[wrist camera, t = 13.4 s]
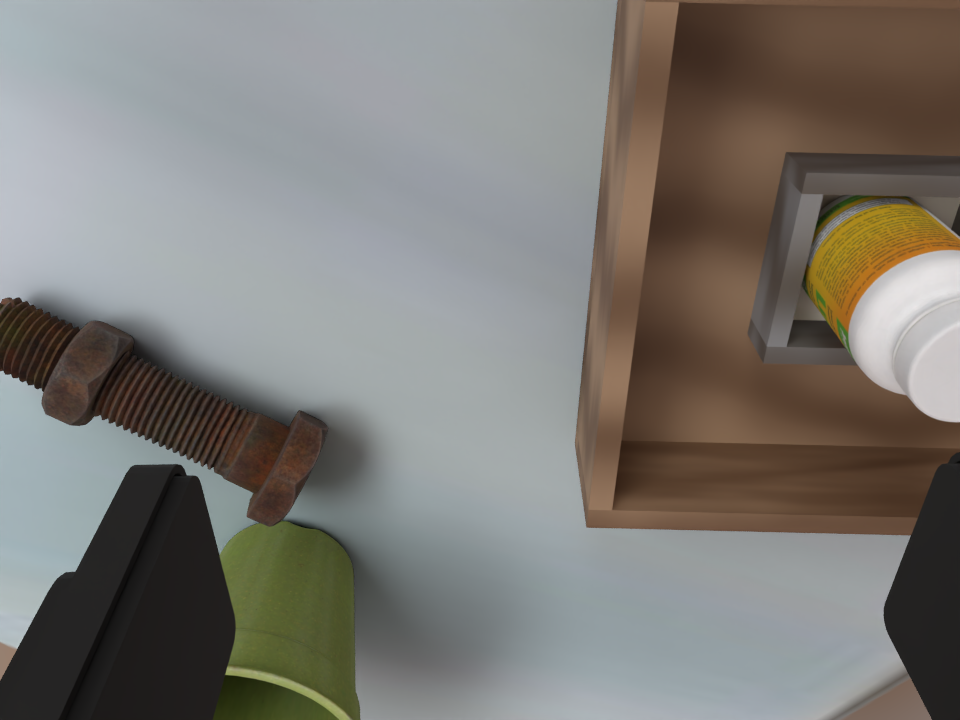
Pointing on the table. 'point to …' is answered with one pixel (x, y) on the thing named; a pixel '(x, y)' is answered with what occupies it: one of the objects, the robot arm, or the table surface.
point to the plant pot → (289, 627)
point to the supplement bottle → (892, 295)
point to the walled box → (756, 263)
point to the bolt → (157, 405)
